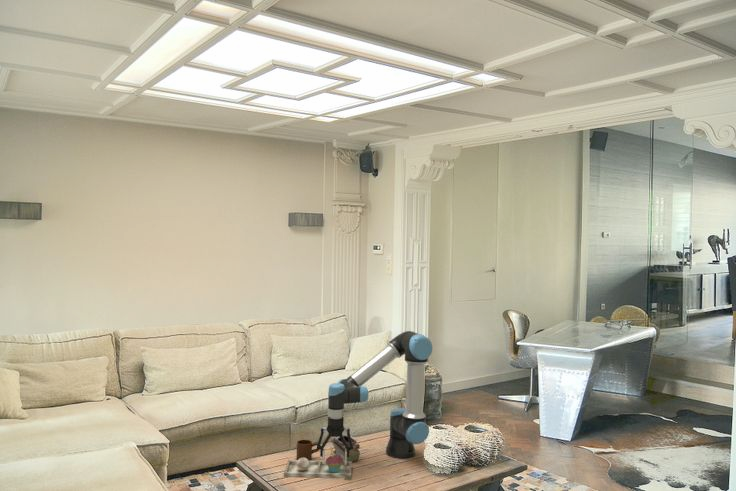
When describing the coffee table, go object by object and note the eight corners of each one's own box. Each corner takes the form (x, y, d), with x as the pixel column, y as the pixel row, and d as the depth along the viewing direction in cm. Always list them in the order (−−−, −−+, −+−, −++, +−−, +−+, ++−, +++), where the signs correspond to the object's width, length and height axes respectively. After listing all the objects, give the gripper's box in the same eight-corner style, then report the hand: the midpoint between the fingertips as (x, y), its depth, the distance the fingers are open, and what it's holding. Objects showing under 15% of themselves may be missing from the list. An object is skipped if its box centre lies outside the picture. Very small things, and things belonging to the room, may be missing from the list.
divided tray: (351, 466, 298) (351, 461, 298) (350, 479, 283) (351, 474, 282) (287, 465, 298) (287, 460, 298) (283, 478, 282) (283, 473, 282)
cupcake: (329, 475, 285) (330, 449, 285) (322, 469, 292) (323, 444, 292) (346, 472, 289) (346, 447, 289) (338, 466, 296) (339, 441, 296)
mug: (319, 457, 310) (320, 439, 310) (321, 463, 302) (321, 444, 302) (296, 458, 308) (296, 439, 308) (296, 463, 300) (297, 444, 300)
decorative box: (335, 465, 300) (335, 445, 300) (324, 451, 319) (324, 432, 319) (360, 462, 304) (361, 443, 304) (348, 449, 323) (348, 430, 323)
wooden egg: (309, 468, 293) (309, 455, 293) (308, 473, 287) (308, 460, 287) (297, 467, 293) (297, 455, 293) (295, 472, 287) (296, 460, 287)
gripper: (359, 415, 294) (358, 460, 294) (312, 413, 294) (311, 459, 294) (359, 419, 286) (358, 466, 287) (311, 418, 286) (310, 465, 286)
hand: (334, 463), depth 290 cm, fingers open, 10 cm apart
